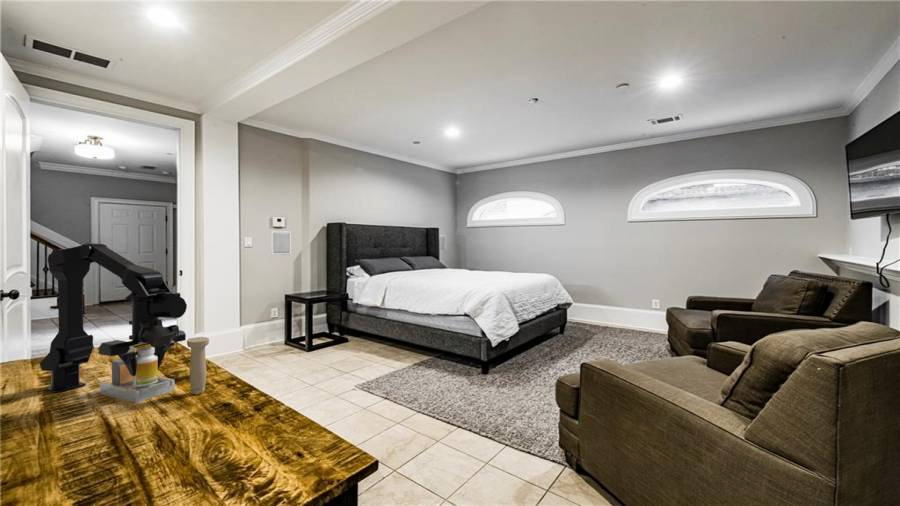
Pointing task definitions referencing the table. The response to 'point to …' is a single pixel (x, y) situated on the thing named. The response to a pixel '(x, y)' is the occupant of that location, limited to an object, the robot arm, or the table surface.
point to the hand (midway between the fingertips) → (145, 372)
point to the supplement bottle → (146, 367)
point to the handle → (197, 364)
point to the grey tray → (127, 391)
